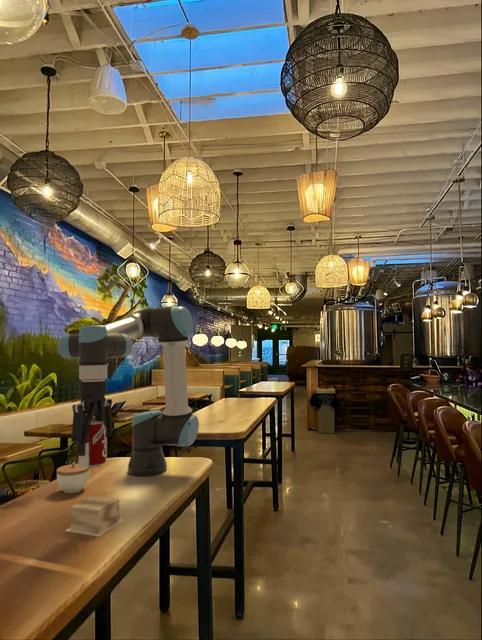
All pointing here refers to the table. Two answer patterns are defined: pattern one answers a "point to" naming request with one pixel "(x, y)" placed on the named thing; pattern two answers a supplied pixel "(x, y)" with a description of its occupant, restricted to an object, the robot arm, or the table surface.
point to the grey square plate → (93, 533)
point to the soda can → (97, 444)
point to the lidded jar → (72, 478)
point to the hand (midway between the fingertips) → (93, 463)
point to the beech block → (94, 514)
